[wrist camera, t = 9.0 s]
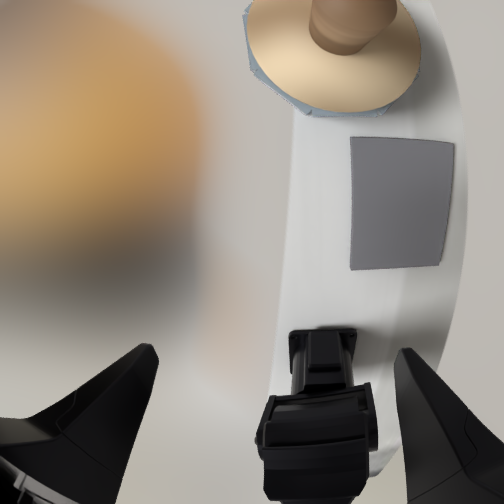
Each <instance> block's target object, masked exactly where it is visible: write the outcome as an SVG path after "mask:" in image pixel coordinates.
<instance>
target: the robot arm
mask: <svg viewBox="0 0 504 504" xmlns="http://www.w3.org/2000/svg"><path fill="white" fill-rule="evenodd" d="M350 334H352V335H350ZM293 336H295V337H293ZM356 339H357V331H356V330H355V329H343V330H321V331H292V332H290V333H289V357H290V373H291V374H292V386H291V395H284V396H276V395H271V396H270V397H269V400H268V403H267V404H266V407H265V410H264V412H263V415H262V418H261V421H260V424H259V427H258V429H257V432H256V437H255V444H256V445H257V447H258V453H259V456H260V458H261V460H263V461H264V486H263V489H264V492H265V494H266V495H267V497H268V499H269V500H270V501H280V502H281V504H351V502H352V501H353V500H354V498H355V497H356V496H359V495H360V493H361V492H362V490H363V488H364V487H365V485H366V481H367V479H368V477H369V452H373V451H377V450H378V426H377V417H376V410H375V405H374V399H373V394H372V389H371V384H370V382H368V383H364V384H363V385H358V386H354V380H353V371H352V360H353V355H354V350H355V345H356ZM158 365H159V358H158V356H157V354H156V352H155V350H154V347H153V346H152V345H151V344H147V343H141V344H140V345H138V346H137V347H135V348H134V349H132V350H131V351H130V352H129V353H127V354H126V355H124V356H123V357H121V358H120V359H119V360H117V361H116V362H114V363H113V364H112V365H110V366H109V367H107V368H106V369H105V370H103V371H102V372H100V373H99V374H97V375H96V376H95V377H93V378H92V379H90V380H89V381H87V382H86V383H85V384H83V385H82V386H80V387H79V388H78V389H77V390H75V391H73V392H72V393H70V394H69V395H67V396H66V397H64V398H63V399H61V400H60V401H58V402H56V403H55V404H53V405H52V406H50V407H48V408H46V409H45V410H42V411H41V412H39V413H37V414H35V415H34V416H31V417H29V418H24V419H15V418H2V417H0V504H115V503H116V499H117V496H118V492H119V489H120V486H121V483H122V478H123V476H124V473H125V469H126V466H127V463H128V460H129V457H130V454H131V451H132V448H133V445H134V442H135V439H136V436H137V433H138V430H139V427H140V425H141V422H142V419H143V416H144V413H145V410H146V407H147V405H148V402H149V399H150V396H151V393H152V388H153V384H154V380H155V376H156V373H157V369H158ZM394 377H395V389H396V404H397V412H398V417H399V424H400V430H401V437H402V445H403V453H404V462H405V472H406V484H407V501H408V502H407V504H504V443H503V442H502V441H501V440H500V439H499V438H497V437H496V436H495V435H494V434H493V433H492V432H491V431H490V430H489V429H488V428H487V427H486V426H485V425H483V424H482V422H481V421H480V420H479V419H478V418H477V417H476V416H475V415H474V414H473V413H472V412H471V411H470V409H468V407H467V406H466V405H465V404H464V403H463V402H462V401H461V400H460V398H459V397H458V396H457V395H456V394H455V393H454V392H453V391H452V390H451V389H450V387H449V386H448V385H447V384H446V383H445V382H444V381H443V380H442V379H441V378H440V377H439V376H438V375H437V374H436V373H435V372H434V371H433V369H432V368H431V367H430V366H429V365H428V364H427V363H426V362H425V361H424V360H423V359H422V358H421V357H420V356H419V355H418V354H417V353H416V352H415V351H414V350H413V349H412V348H401V349H400V350H399V352H398V355H397V358H396V360H395V363H394Z"/></svg>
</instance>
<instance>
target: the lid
mask: <svg viewBox="0 0 504 504" xmlns="http://www.w3.org/2000/svg"><path fill="white" fill-rule="evenodd" d="M247 36H248V41H249V45H250V48H251V50H252V53H253V55H254V57H255V59H256V61H257V62H258V64H259V66H260V67H261V68H262V70H263V71H264V72H265V74H266V75H267V76H268V77H269V78H270V79H271V81H272V82H273V83H274V84H275V85H277V86H278V87H279V88H280V89H281V90H282V91H284V92H285V93H287V94H288V95H290V96H291V97H293V98H295V99H297V100H299V101H300V102H302V103H305V104H307V105H310V106H312V107H315V108H319V109H323V110H327V111H333V112H363V111H369V110H373V109H376V108H380V107H382V106H385V105H387V104H389V103H391V102H392V101H394V100H395V99H397V98H398V97H400V96H401V95H402V94H403V93H404V92H405V91H406V90H407V89H408V88H409V86H410V85H411V84H412V82H413V80H414V78H415V77H416V74H417V71H418V69H419V64H420V59H421V46H420V39H419V35H418V31H417V28H416V26H415V24H414V21H413V19H412V18H411V16H410V14H409V12H408V11H407V9H406V8H405V7H404V5H403V4H402V3H401V2H400V1H399V0H253V2H252V5H251V7H250V10H249V14H248V18H247Z"/></svg>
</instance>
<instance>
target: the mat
mask: <svg viewBox="0 0 504 504" xmlns="http://www.w3.org/2000/svg"><path fill="white" fill-rule="evenodd" d="M350 145H351V170H352V228H351V254H350V269H351V270H370V269H389V268H407V267H423V266H438V265H439V263H440V259H441V254H442V249H443V244H444V238H445V233H446V226H447V220H448V212H449V205H450V195H451V185H452V170H453V144H452V143H448V142H440V141H430V140H418V139H404V138H383V137H350Z"/></svg>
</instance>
